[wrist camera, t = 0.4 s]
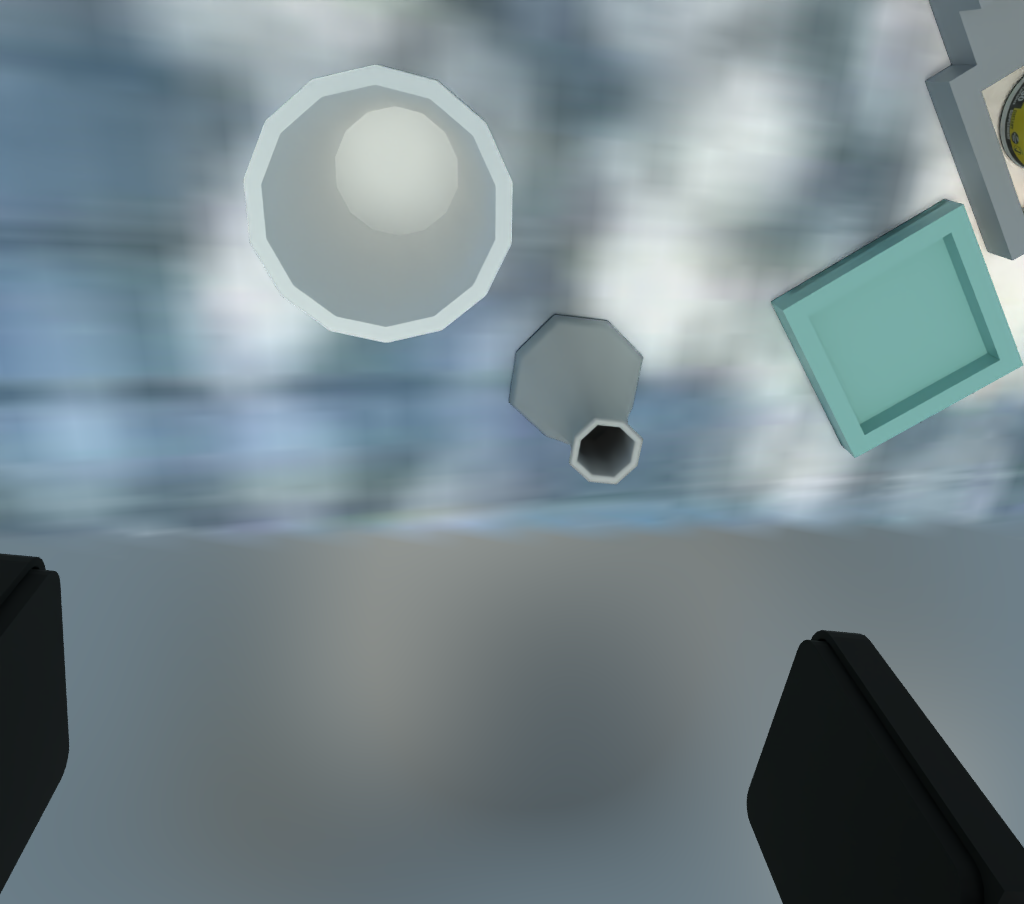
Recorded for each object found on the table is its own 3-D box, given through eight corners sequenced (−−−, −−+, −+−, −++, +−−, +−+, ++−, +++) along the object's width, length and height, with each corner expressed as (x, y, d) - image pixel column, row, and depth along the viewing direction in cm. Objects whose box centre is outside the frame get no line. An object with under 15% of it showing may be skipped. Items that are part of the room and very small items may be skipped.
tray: (770, 301, 46) (782, 310, 45) (944, 199, 45) (963, 204, 43) (841, 445, 50) (854, 458, 49) (1003, 355, 49) (1023, 365, 47)
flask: (546, 290, 45) (573, 347, 36) (664, 347, 47) (717, 415, 38) (486, 407, 48) (496, 488, 39) (600, 458, 50) (636, 546, 40)
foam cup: (532, 158, 43) (567, 194, 31) (418, 303, 45) (410, 389, 33) (374, 20, 40) (345, 1, 28) (261, 184, 42) (190, 230, 30)
